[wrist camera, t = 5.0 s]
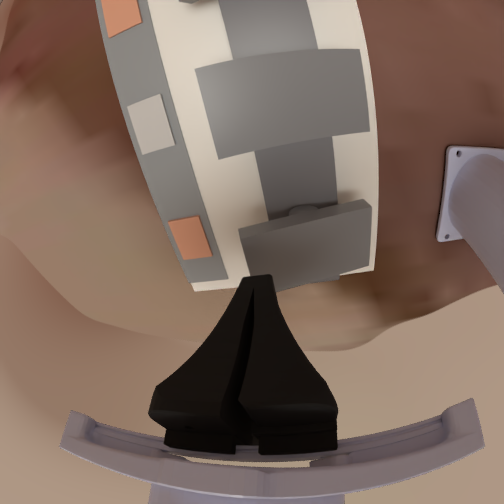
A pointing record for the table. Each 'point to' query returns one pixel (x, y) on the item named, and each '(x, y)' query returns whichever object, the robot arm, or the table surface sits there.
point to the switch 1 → (188, 1)
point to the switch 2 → (283, 98)
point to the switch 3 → (309, 243)
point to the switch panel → (198, 130)
